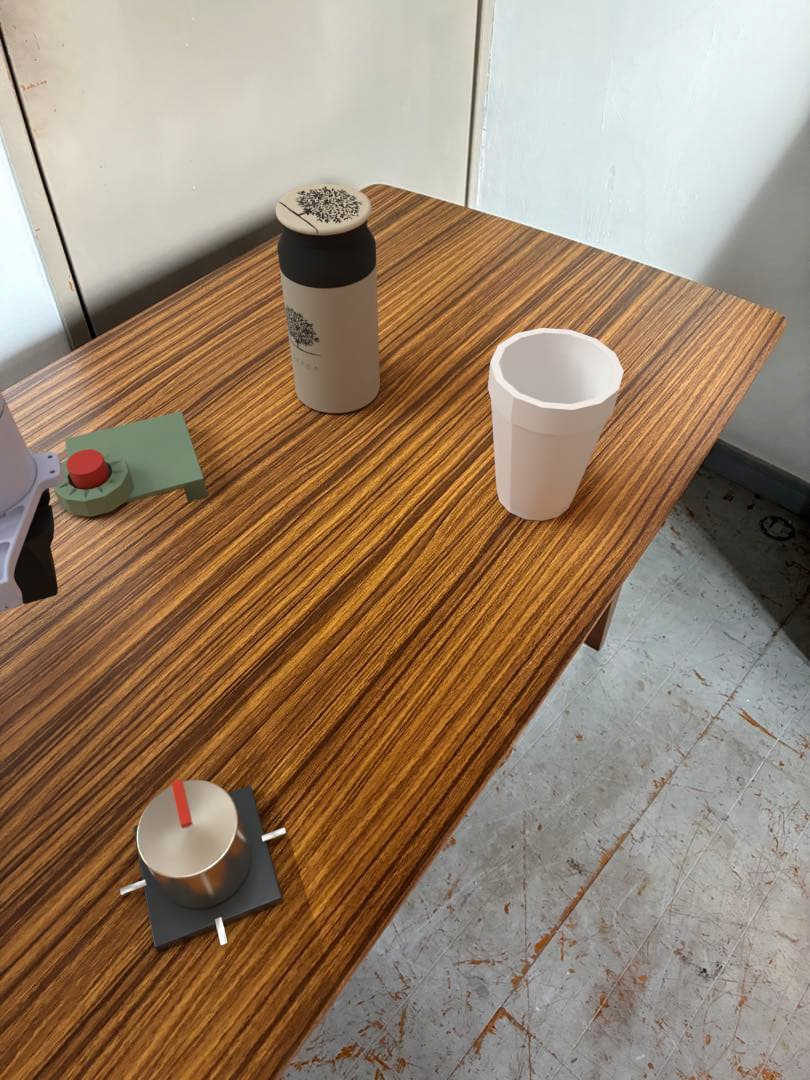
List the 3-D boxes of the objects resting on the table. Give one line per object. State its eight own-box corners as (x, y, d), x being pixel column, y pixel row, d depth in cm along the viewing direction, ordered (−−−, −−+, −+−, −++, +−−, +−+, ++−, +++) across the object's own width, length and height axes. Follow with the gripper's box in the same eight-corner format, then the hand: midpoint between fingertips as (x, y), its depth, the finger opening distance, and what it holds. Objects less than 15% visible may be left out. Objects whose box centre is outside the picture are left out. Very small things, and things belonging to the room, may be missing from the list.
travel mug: (356, 353, 81) (346, 173, 67) (395, 399, 76) (392, 215, 62) (282, 378, 78) (256, 196, 64) (317, 426, 74) (297, 241, 60)
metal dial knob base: (146, 992, 44) (134, 980, 42) (119, 831, 50) (107, 813, 48) (313, 924, 46) (309, 909, 44) (269, 777, 52) (264, 759, 50)
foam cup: (609, 481, 69) (643, 355, 59) (562, 551, 64) (591, 426, 54) (509, 440, 72) (526, 314, 63) (457, 504, 67) (467, 378, 57)
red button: (75, 494, 63) (68, 478, 62) (71, 470, 65) (64, 454, 63) (112, 484, 64) (105, 468, 62) (106, 461, 65) (100, 445, 64)
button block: (72, 542, 65) (56, 508, 62) (59, 460, 71) (43, 426, 68) (211, 505, 67) (202, 470, 64) (186, 429, 73) (177, 394, 70)
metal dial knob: (262, 887, 45) (248, 852, 41) (168, 924, 44) (144, 893, 40) (238, 802, 48) (223, 762, 44) (150, 835, 47) (126, 797, 43)
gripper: (44, 497, 35) (126, 667, 45) (17, 314, 44) (91, 491, 54) (-137, 543, 33) (-8, 709, 43) (-126, 343, 42) (-21, 520, 52)
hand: (39, 591), depth 48 cm, fingers closed
